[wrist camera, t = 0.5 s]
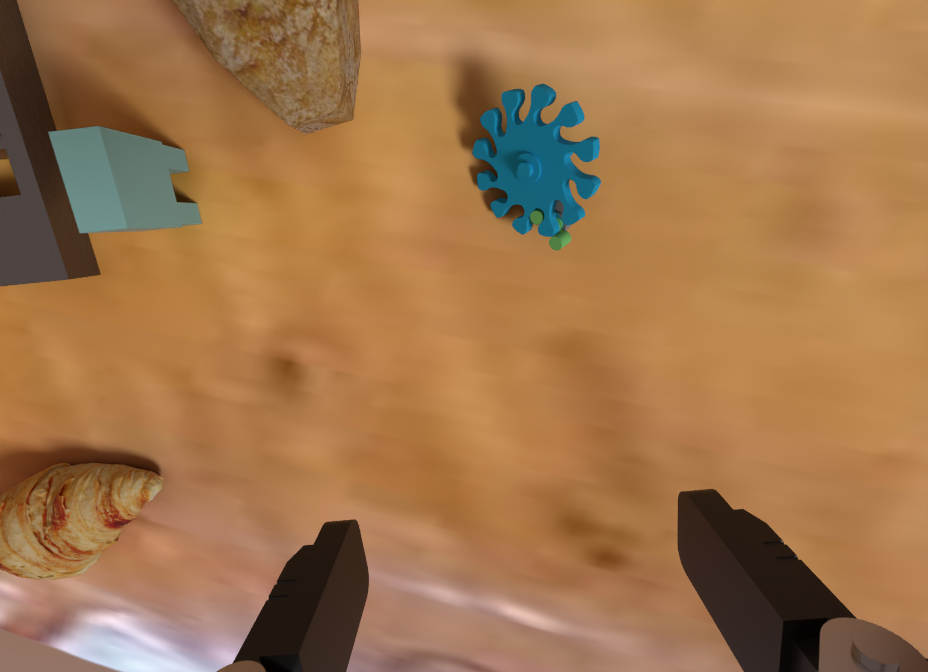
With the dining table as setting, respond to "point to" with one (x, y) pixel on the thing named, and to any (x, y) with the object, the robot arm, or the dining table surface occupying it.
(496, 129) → the gear
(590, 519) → the dining table surface
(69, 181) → the teal block
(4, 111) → the rail
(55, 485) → the croissant
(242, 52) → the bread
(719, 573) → the robot arm
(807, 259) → the dining table surface
